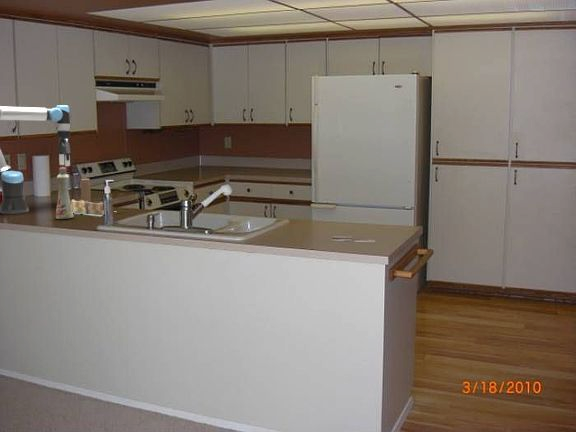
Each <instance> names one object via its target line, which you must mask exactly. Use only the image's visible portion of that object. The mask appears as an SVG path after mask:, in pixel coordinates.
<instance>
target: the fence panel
mask: <svg viewBox="0 0 576 432" xmlns="http://www.w3.org/2000/svg"><path fill="white" fill-rule="evenodd" d="M80 200H81V199H80ZM80 200H75V199H74V198H73V199H71V200H70V202H71V207H72V212H81V213H86V202H84V200H81V202H80Z"/></svg>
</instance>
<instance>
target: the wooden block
mask: <svg viewBox="0 0 576 432" xmlns="http://www.w3.org/2000/svg"><path fill="white" fill-rule="evenodd" d="M80 186H81V187H80V189H81V190H80V192H81V197H80V199H79V201H80V202H81V200H84V202H85V201H88V202H90V203H92V200H91V199H92V198H91V181H90V178H82V179H80Z"/></svg>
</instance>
